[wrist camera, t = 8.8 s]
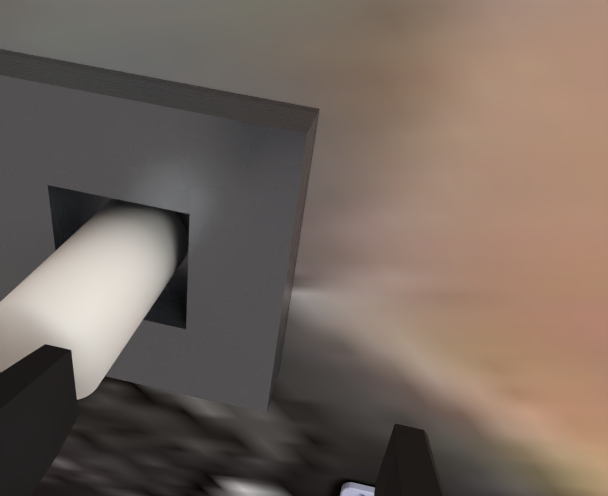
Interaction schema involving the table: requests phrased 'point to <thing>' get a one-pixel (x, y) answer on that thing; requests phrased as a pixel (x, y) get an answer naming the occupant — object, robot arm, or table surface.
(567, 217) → the table surface
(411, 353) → the table surface
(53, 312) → the peg
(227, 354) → the socket block
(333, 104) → the table surface
